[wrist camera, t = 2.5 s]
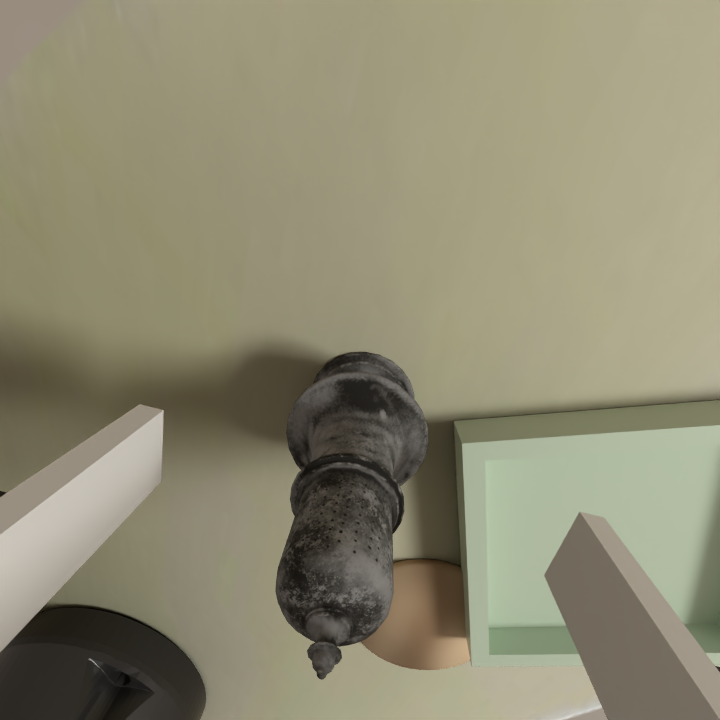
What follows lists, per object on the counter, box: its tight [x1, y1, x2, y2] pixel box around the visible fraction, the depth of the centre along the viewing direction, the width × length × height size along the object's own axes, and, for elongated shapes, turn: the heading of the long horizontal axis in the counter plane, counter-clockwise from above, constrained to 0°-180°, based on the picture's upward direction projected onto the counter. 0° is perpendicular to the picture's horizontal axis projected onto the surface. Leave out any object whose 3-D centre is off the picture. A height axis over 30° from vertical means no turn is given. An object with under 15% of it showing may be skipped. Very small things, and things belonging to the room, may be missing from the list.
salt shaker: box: [276, 352, 428, 679], centre depth 12 cm, size 6×6×12 cm
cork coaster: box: [361, 559, 470, 670], centre depth 22 cm, size 9×9×1 cm
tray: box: [454, 400, 720, 667], centre depth 19 cm, size 15×15×2 cm
